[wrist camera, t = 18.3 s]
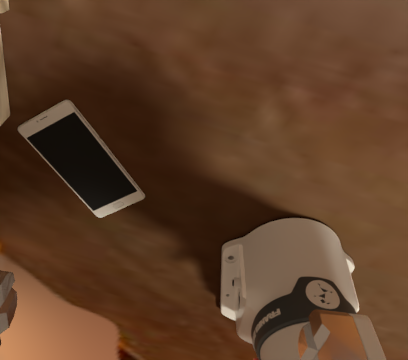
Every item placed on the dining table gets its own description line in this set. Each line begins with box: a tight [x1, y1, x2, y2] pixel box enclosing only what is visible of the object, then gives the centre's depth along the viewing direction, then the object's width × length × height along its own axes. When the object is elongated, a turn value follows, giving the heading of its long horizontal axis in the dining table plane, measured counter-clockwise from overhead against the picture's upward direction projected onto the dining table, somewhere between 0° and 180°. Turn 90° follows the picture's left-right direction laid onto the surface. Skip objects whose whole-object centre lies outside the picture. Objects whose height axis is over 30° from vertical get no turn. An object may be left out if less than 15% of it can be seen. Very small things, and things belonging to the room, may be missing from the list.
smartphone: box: [18, 100, 145, 218], centre depth 45 cm, size 8×1×15 cm
